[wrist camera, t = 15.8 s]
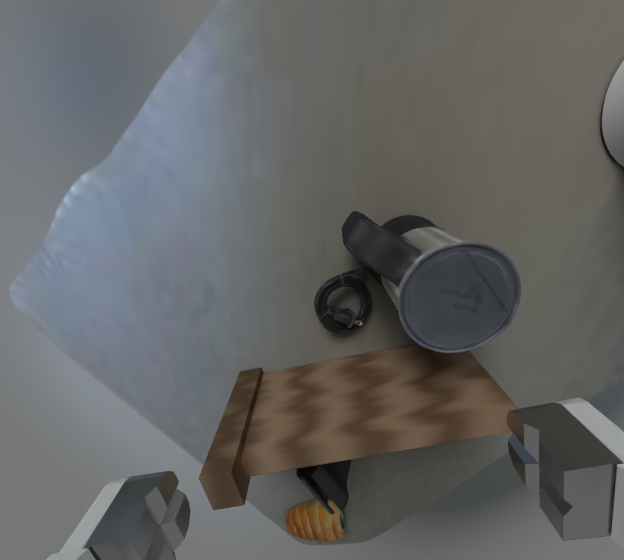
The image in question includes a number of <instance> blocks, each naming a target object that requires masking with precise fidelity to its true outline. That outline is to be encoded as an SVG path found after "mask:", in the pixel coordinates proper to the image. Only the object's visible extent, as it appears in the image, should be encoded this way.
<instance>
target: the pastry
mask: <svg viewBox="0 0 624 560" xmlns="http://www.w3.org/2000/svg"><path fill="white" fill-rule="evenodd" d="M328 505H329V506H330V507H331V508H332V509H333V510H334V512H335V513H334V515H332V514H330V513H328V511H327V510H326V509H325V508H324V507H323V506H322V504H321V503H320V502H319V501H318V500H317V499H316V500H312V501H308V502H305V503H302V504H299V505H297V506H295V507H293V508H292V509H291V510H289V511H288V512H287V514H286V526H287V531H288V532H290V533H292V534H293V535H295V536H299V537H300V538H302V539H309V541H313V540H316V541H318V542H319V543H323V542H324V541H325V540H326V541H329V542H334V540H335V539H336V538H340V539H342V538H343V534H344V531H345V526H344V523H343V514H342V511H341V510H340V509H339V508H338V507H337V506H336V504H335V503H334V502H333V501H332V500H331V499H328Z"/></svg>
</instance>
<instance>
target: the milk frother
mask: <svg viewBox="0 0 624 560" xmlns="http://www.w3.org/2000/svg"><path fill="white" fill-rule="evenodd" d="M342 237H343V243H344V245H345V246H346V248H347V249H348V250H349V251H350V252H351V253H352V254H353V255H354V256H355V257H357V258H358V259H359V260H360V261H362V262H363V263H364V264H365V265H367V266H366V267H363V268H359V269H356V270H352V271H349V272H346V273H343V274H340V275H338V276H335V277H333V278H331V279H329V280H328V281H326V282H325V283H324V284H323V285H322V286H321V287H320V289H319V290H318V292H317V294H316V297H315V301H314V305H315V311H316V314H317V317H318V319H319V320H320V322H321V323H322V325H323V326H324V327H325V328H326V329H328V330H329V331H331V332H334V333H347V332H350V331H352V330H354V329H356V328H357V327H358V326H362V324H363V321H365V319H366V317H367V316H368V314H369V311H370V308H371V300H370V293H369V290H368V289H367V287H366V286H365V284H364V283H363V282H361V281H360V280H358V279H356V278H354V277H352V276H355V275H360V274H364V273H368V272H371V273H372V275H373V277H374V278H375V279H376V280H377V281H378V282H379V283H380V284H381V285H383V287H384V288H385V290H386V292H387V293H388V295H389V297H390V298H391V300H392V302H393V304H394V305H395V307H396V309H397V310H398V312H399V318H400V321H401V323H402V326H403V328H404V330H405V331H406V333H407V334H408V335H409V336H410V338H412V339H413V340H414V341H415V342H416V343H418V344H419V345H420V346H423V347H425V348H428V349H430V350H433V351H437V352H442V353H456V352H464V351H468V350H472V349H475V348H477V347H479V346H482V345H483V344H485V343H487V342H489V341H490V340H492V339H493V338H495V337H496V336H497V335H499V334H500V333H501V332H503V331H504V330H505V329H506V328H507V326H508V325H509V324H510V322H511V320H512V318H513V316H514V314H515V312H516V310H517V307H518V304H519V301H520V296H521V284H520V278H519V275H518V272H517V270H516V268H515V265H514V264H513V262H512V261H511V260H510V259H509V258H508V257H507V256H506V255H505V254H504V253H503V252H501V251H500V250H498V249H496V248H495V247H492V246H489V245H487V244H483V243H479V242H470V241H467V240H465V239H463V238H461V237H459V236H457V235H454V234H452V233H450V232H448V231H445V230H444V229H441V228H439V227H437V226H436V225H435V224H433V223H432V222H431V221H429V220H427V219H425V218H423V217H419V216H413V215H405V216H400V217H397V218H394V219H392V220H390V221H388V222H386V223H385V224H384V225H382V226H381V227H380V226H379V225H377V224H376V223H374V222H373V221H372V220H370V219H369V218H368V217H367V216H365V215H364V214H362V213H359V212H357V211H354V212H352V213H351V214H350V215H349V217H348V218H347V220H346V221H345V223H344V225H343V227H342ZM344 286H349V287H353V288H354V289H356V290H357V292H358V293H359V295H360V298H361V308H360V312H359V314H358V316H357V317H356V315H355V314H354V313H353V312H352V311H351V310H350V309H349V308H346V309H342V308H337V307H333V308H331V307H329V306H327V300H328V298H329V296H330V295H331V293H332V292H334V291H335V290H336V289H338V288H340V287H344ZM332 320H334V321H336V320H338V321H339V322H341V323H343V324H338V323H336V322H334V321H332Z"/></svg>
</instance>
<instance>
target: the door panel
mask: <svg viewBox="0 0 624 560" xmlns="http://www.w3.org/2000/svg"><path fill="white" fill-rule="evenodd" d="M516 409H519V408H518V407H517V406H516V405H515V404H514V403H513V401H512V400H511V399H510V398H509V397H508V396H507V395H506V393H505V392H504V391H503V390H502V389H501V388H500V386H499V385H498V384H497V383H496V382H495V381H494V379H493V378H492V377H491V376H490V375H489V374H488V373H487V371H486V370H485V369H484V368H483V367H482V366H481V364H480V363H479V362H478V361H477V360H476V359H475V357H474V356H473V355H472V354H471V353H470V352H469V350H468V351H464V352H456V353H442V352H437V351H433V350H430V349H428V348H425V347H423V346H420V345H419V344H418V343H415V344H410V345H405V346H400V347H395V348H390V349H385V350H380V351H375V352H370V353H365V354H360V355H355V356H350V357H345V358H340V359H335V360H330V361H325V362H320V363H315V364H310V365H305V366H300V367H295V368H289V369H284V370H279V371H274V372H269V373H264V374H263V372H262V369H261V368H257V369H252V370H247V371H242V372H240V373H239V375H238V378H237V381H236V383H235V386H234V388H233V391H232V394H231V396H230V399H229V401H228V404H227V406H226V409H225V412H224V414H223V417H222V419H221V422H220V425H219V427H218V430H217V432H216V435H215V437H214V440H213V443H212V445H211V448H210V450H209V453H208V456H207V458H206V461H205V463H204V466H203V468H202V471H201V474H200V476H199V480H200V482H201V484H202V486H203V488H204V491H205V493H206V495H207V497H208V499H209V501H210V504H211V506H212V508H213V510H217V509H223V508H229V507H235V506H241V505H244V504H245V500H246V495H247V491H248V486H249V481H250V477H251V476H256V475H262V474H268V473H274V472H280V471H285V470H291V469H297V468H303V467H309V466H315V465H321V464H326V463H332V462H338V461H344V460H350V459H356V458H362V457H367V456H373V455H379V454H385V453H391V452H397V451H403V450H408V449H414V448H420V447H426V446H432V445H438V444H444V443H449V442H455V441H461V440H467V439H473V438H479V437H485V436H490V435H496V434H502V433H508V432H512V431H511V429H510V428H509V427H508V425H507V414H508V411H510V410H516Z"/></svg>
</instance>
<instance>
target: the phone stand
mask: <svg viewBox="0 0 624 560" xmlns="http://www.w3.org/2000/svg"><path fill="white" fill-rule="evenodd" d="M350 463H351V459H350V460H344V461H338V462H332V463H326V464H321V465H315V466H309V467H303V468H297V476H298V478H299V479H300V480H301V481H302V482H303V484H304V485H305V486H306V487H307V488H308V489H309V491H310V492H311V493H312V494H313V495H314V496H315V498H316V499H317V500H318V501H319V502H320V503H321V504H322V506H323V507H324V508H325V509H326V510H327V511H328V513H330V514H332V515H334V513H335V512H334V510H333V509H332V508H331V507H330V506H329V505H328V499H329V497H330V498H331V500H332V501H333V502H334V503H335V504H336V506H337V507H338V508H339V509H340V510H341V511H342V510H343V509H344V508H345V507H346V505H347V502H348V491H347V477H348V472H349V467H350Z"/></svg>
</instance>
